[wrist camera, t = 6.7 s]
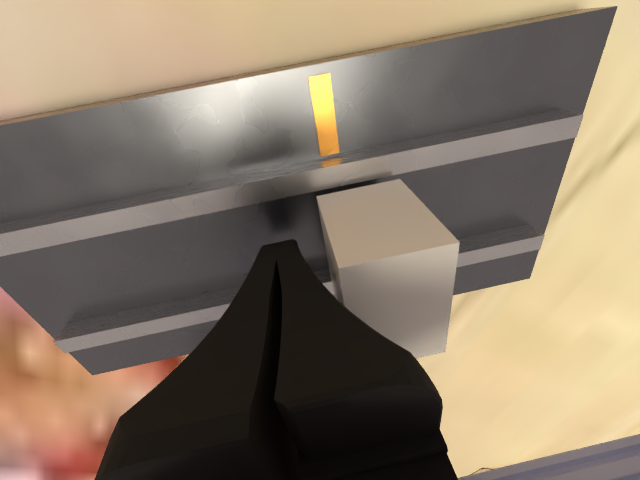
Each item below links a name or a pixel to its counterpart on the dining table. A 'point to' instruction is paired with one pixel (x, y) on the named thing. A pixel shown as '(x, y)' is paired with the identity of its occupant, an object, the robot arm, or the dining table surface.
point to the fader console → (283, 177)
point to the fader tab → (391, 263)
